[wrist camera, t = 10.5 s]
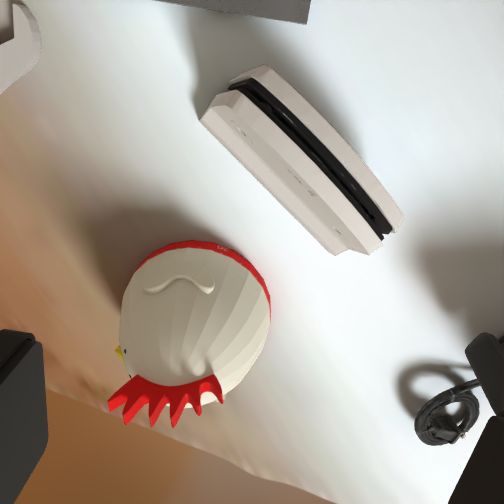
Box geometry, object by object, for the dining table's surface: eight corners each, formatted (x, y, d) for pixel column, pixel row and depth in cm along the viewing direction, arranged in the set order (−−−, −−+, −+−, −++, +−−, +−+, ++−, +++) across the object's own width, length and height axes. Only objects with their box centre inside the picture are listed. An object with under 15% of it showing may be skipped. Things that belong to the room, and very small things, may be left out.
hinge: (195, 117, 37) (204, 100, 27) (235, 74, 37) (259, 42, 27) (331, 255, 41) (381, 283, 31) (368, 217, 41) (429, 233, 31)
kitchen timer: (118, 241, 42) (37, 337, 29) (267, 238, 41) (257, 336, 27) (142, 363, 48) (84, 490, 34) (273, 363, 47) (267, 495, 33)
